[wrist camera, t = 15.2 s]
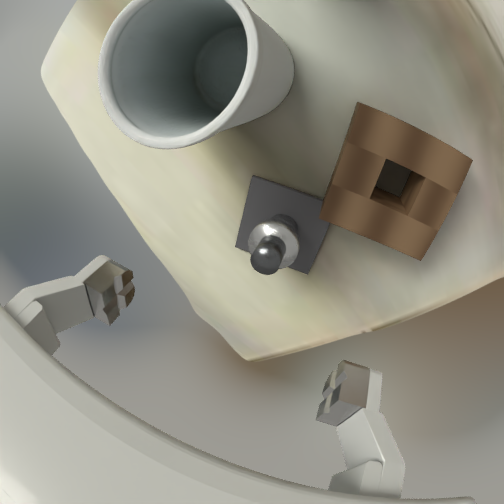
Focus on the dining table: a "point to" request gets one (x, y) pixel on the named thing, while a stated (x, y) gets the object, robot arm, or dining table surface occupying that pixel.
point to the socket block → (382, 202)
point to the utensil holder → (190, 70)
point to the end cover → (274, 244)
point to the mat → (289, 203)
